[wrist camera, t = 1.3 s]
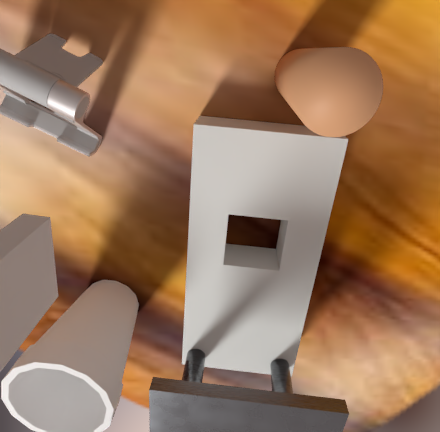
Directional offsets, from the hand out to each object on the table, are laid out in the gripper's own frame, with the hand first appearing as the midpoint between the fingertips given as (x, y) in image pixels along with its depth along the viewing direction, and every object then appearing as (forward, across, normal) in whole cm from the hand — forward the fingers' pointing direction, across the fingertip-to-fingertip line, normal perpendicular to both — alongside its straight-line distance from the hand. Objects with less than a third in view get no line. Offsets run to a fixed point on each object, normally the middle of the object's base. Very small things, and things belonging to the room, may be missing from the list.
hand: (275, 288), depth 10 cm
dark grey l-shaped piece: (+19, +2, -20) cm, 28 cm away
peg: (+23, +3, +5) cm, 24 cm away
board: (+23, +1, -12) cm, 26 cm away
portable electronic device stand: (+24, -17, +1) cm, 29 cm away
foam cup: (+23, -13, -22) cm, 35 cm away
